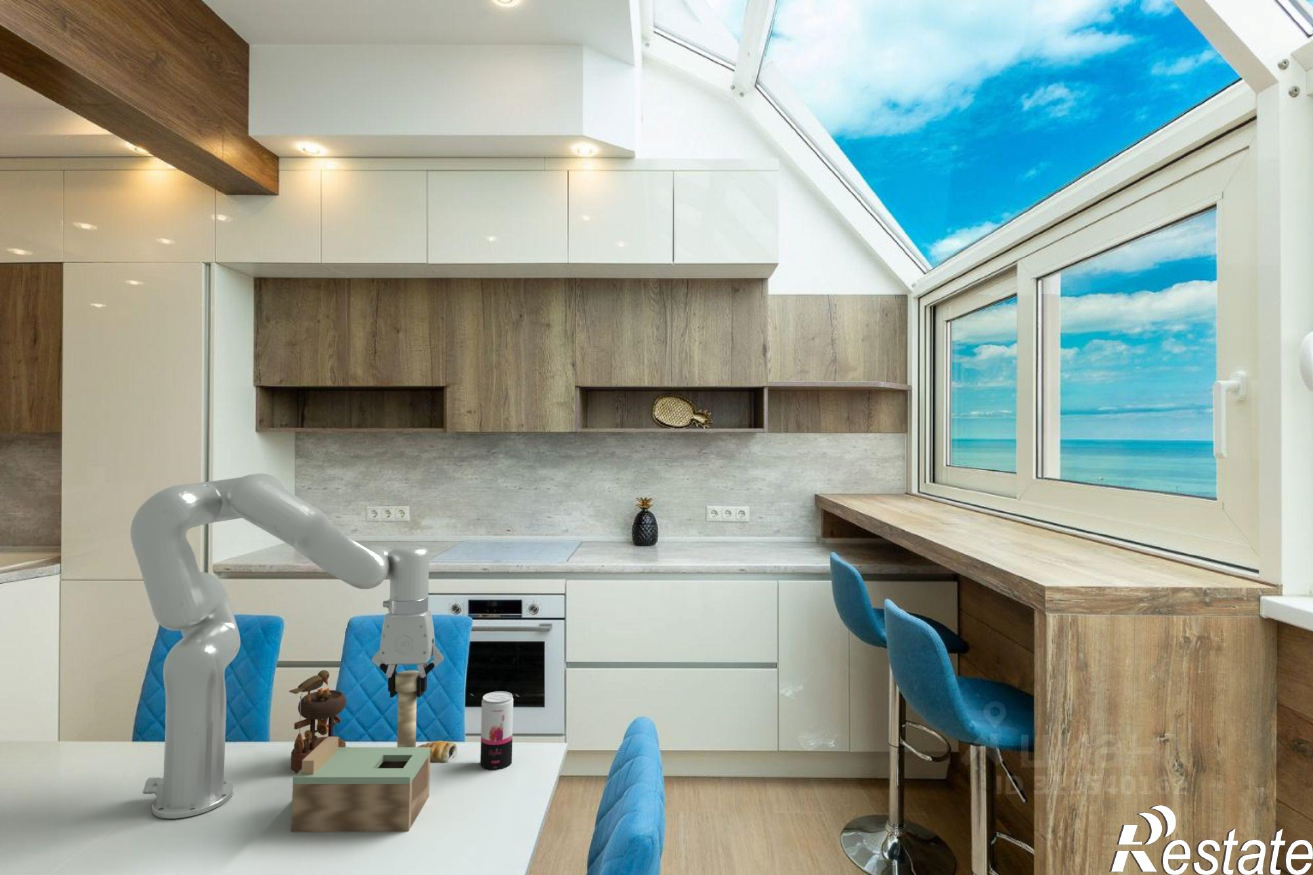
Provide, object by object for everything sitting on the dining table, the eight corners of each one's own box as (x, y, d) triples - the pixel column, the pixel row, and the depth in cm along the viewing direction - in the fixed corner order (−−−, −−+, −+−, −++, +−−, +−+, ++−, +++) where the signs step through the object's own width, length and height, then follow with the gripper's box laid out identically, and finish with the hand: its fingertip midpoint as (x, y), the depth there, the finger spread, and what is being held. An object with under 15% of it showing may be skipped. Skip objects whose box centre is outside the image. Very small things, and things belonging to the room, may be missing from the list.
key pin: (390, 757, 136) (391, 677, 137) (398, 747, 141) (400, 670, 141) (414, 757, 136) (415, 677, 137) (421, 747, 141) (423, 670, 142)
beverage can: (500, 777, 139) (502, 703, 139) (473, 771, 141) (475, 699, 142) (517, 763, 145) (519, 693, 146) (491, 758, 147) (493, 689, 148)
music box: (320, 780, 136) (316, 680, 137) (273, 779, 138) (269, 680, 139) (366, 748, 151) (362, 658, 152) (323, 747, 153) (319, 659, 154)
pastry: (405, 764, 145) (405, 746, 145) (420, 751, 151) (420, 733, 151) (446, 767, 143) (447, 749, 143) (460, 754, 150) (460, 736, 150)
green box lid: (292, 784, 116) (293, 763, 116) (324, 753, 128) (324, 734, 128) (409, 783, 117) (410, 763, 117) (430, 753, 129) (430, 734, 129)
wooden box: (291, 837, 116) (292, 784, 116) (322, 801, 128) (324, 753, 128) (408, 836, 117) (409, 784, 117) (429, 801, 129) (430, 753, 129)
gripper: (360, 610, 135) (358, 702, 135) (445, 610, 136) (443, 701, 136) (374, 602, 143) (372, 688, 142) (455, 602, 144) (453, 688, 143)
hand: (407, 694), depth 139 cm, fingers closed on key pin, 4 cm apart
